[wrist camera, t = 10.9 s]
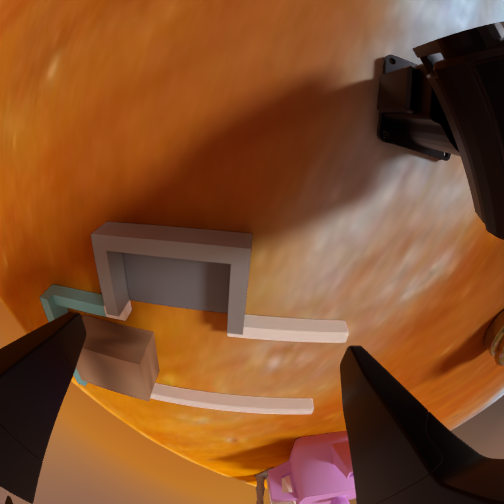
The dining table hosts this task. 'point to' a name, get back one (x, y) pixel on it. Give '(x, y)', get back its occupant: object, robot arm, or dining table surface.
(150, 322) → the dining table surface
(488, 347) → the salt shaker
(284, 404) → the walled track with bay
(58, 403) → the robot arm
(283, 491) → the skyscraper
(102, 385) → the block
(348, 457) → the teakettle
